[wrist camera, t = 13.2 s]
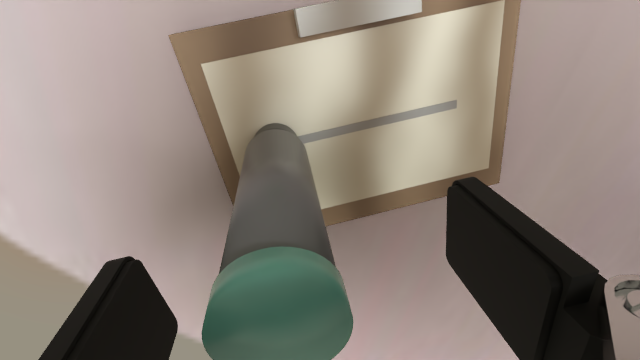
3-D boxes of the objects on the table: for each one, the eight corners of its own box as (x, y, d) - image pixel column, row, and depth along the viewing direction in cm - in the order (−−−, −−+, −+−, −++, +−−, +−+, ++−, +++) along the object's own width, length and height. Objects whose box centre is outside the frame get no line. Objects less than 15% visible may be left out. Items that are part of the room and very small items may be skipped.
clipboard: (516, -36, 16) (541, -42, 15) (493, 179, 22) (509, 189, 21) (171, 34, 15) (162, 35, 13) (248, 239, 21) (247, 255, 20)
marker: (299, 110, 17) (342, 262, 6) (311, 165, 18) (360, 359, 8) (238, 123, 17) (176, 301, 6) (255, 177, 18) (230, 391, 8)
